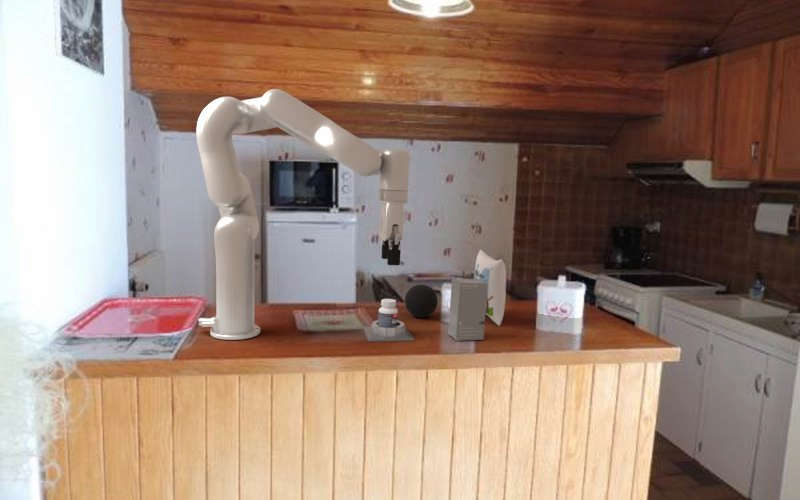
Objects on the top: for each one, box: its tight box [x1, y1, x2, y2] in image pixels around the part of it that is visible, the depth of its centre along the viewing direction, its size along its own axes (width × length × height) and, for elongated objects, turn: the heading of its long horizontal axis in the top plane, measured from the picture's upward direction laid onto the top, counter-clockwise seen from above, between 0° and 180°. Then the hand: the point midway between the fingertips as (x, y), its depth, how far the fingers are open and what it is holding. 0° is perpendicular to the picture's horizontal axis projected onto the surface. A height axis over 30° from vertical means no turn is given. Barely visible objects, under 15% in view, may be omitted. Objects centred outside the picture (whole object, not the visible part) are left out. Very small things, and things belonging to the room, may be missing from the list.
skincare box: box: [447, 278, 488, 342], centre depth 153 cm, size 8×7×16 cm
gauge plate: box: [362, 319, 415, 342], centre depth 153 cm, size 12×11×3 cm
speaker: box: [404, 284, 439, 318], centre depth 173 cm, size 10×10×10 cm
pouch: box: [473, 249, 507, 327], centre depth 174 cm, size 8×19×20 cm, turn 7°
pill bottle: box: [377, 298, 399, 327], centre depth 153 cm, size 5×5×9 cm
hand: (390, 261), depth 151 cm, fingers open, 9 cm apart
